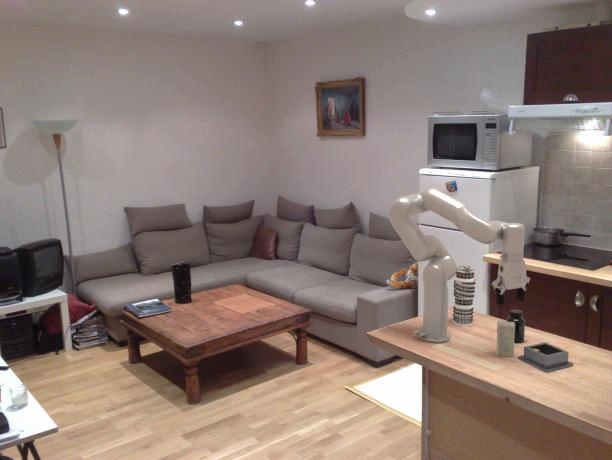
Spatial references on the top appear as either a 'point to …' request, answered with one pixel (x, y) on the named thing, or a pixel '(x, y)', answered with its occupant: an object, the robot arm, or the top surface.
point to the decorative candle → (464, 296)
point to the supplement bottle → (517, 325)
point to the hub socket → (545, 357)
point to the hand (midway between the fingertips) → (510, 302)
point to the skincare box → (505, 338)
